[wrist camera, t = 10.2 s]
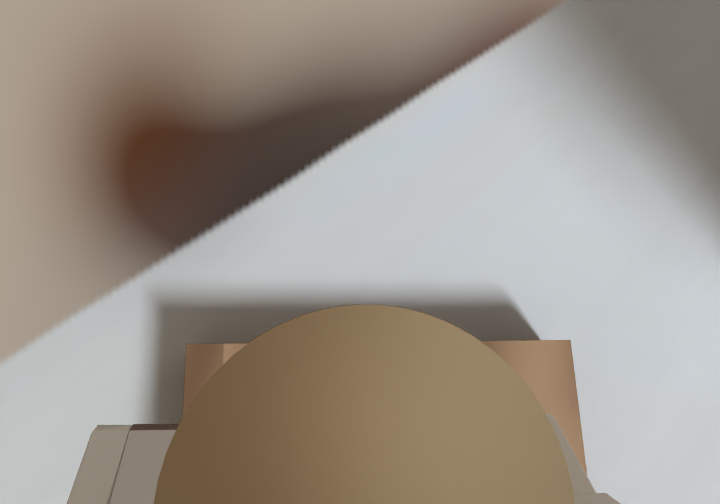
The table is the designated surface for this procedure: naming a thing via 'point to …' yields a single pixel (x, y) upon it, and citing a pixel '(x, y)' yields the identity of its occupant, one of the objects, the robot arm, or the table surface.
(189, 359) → the pin board
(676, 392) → the table surface
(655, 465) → the table surface
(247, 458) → the pin
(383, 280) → the table surface
